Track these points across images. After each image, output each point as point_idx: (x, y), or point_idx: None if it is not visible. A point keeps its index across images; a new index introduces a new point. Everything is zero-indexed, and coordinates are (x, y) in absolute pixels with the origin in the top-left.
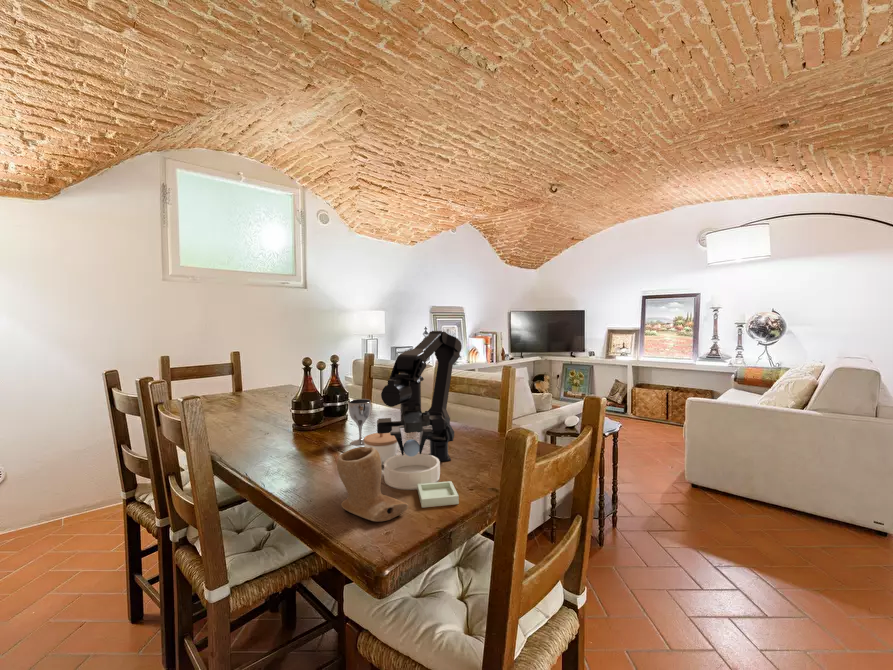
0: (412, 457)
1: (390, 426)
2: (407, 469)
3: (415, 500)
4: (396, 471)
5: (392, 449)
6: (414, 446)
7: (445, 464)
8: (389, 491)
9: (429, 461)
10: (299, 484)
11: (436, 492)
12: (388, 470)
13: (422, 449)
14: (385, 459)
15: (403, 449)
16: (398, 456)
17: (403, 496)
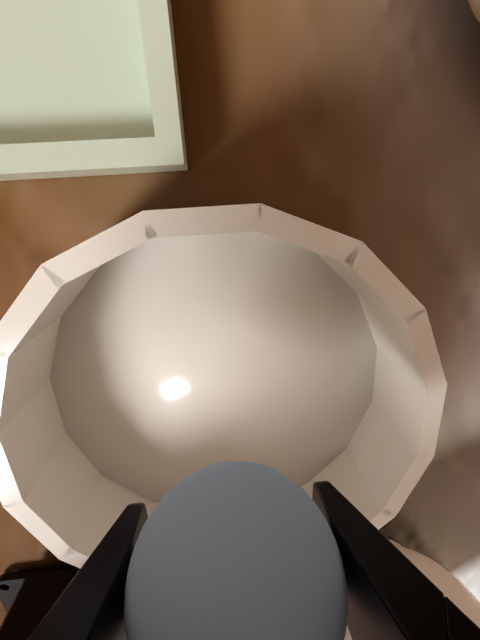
0: None
1: None
2: (247, 461)
3: (204, 6)
4: (370, 269)
5: (349, 635)
6: (194, 566)
7: (28, 535)
8: (368, 206)
9: (100, 514)
10: None
11: (29, 60)
12: (423, 318)
13: (94, 550)
14: None
15: (339, 536)
16: None
17: (287, 104)
